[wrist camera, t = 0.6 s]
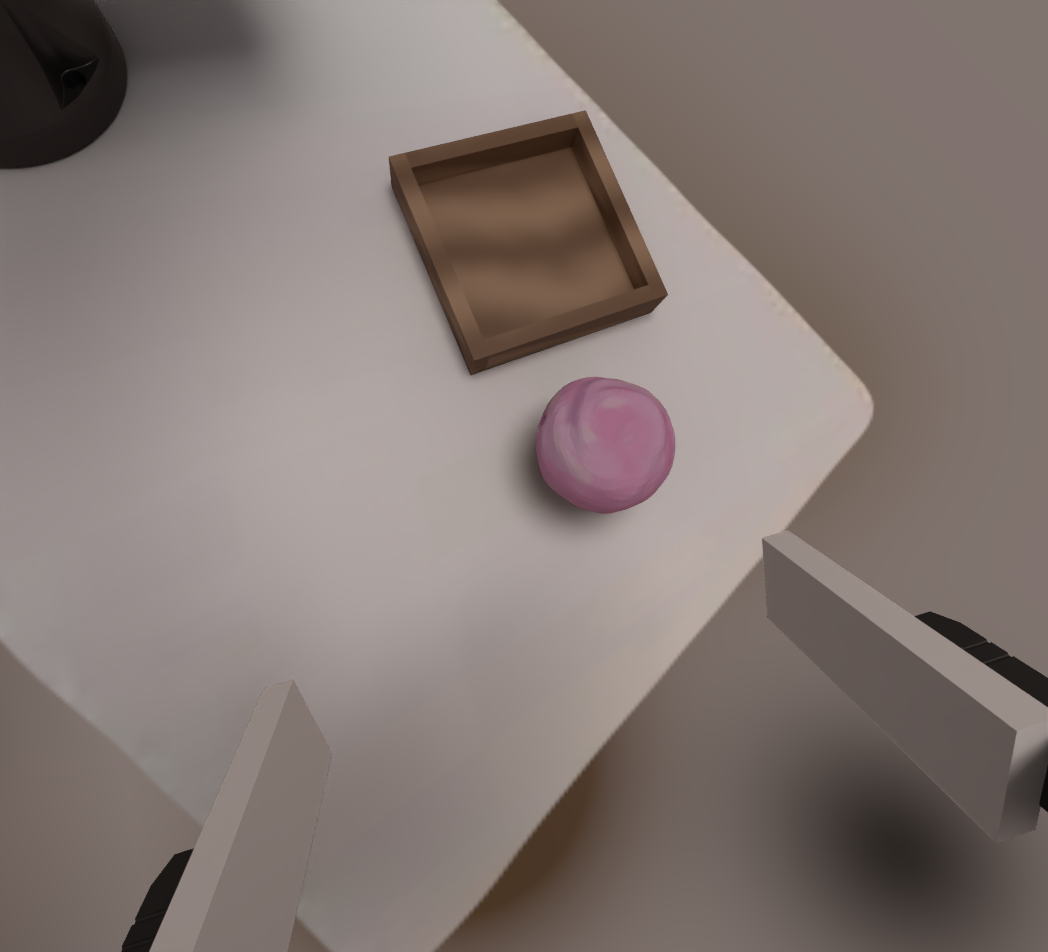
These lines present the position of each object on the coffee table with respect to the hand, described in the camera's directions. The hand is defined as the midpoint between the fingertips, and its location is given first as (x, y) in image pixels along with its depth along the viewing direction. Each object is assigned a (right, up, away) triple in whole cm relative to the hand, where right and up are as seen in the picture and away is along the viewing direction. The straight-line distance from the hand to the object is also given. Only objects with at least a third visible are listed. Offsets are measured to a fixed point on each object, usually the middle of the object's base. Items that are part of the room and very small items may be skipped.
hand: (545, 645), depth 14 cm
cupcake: (+3, +6, +25) cm, 26 cm away
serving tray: (0, +22, +26) cm, 35 cm away
